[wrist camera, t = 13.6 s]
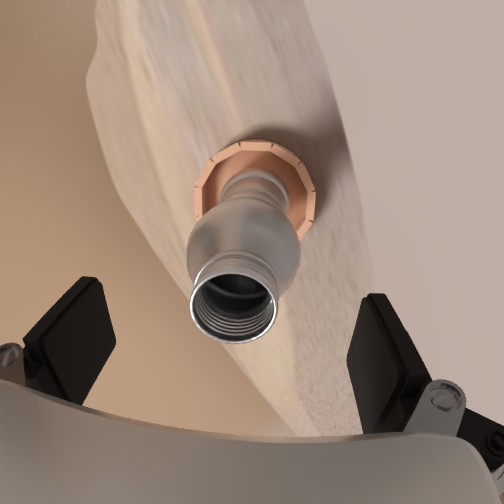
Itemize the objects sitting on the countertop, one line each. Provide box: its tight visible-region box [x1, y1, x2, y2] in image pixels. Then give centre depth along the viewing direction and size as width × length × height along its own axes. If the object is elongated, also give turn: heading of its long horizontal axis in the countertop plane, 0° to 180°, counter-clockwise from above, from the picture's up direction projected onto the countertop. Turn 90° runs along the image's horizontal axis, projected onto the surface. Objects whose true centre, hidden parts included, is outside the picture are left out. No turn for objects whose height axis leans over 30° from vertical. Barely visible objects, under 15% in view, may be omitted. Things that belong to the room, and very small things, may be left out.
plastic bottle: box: [186, 168, 301, 344], centre depth 21 cm, size 6×7×20 cm
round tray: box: [194, 139, 316, 242], centre depth 30 cm, size 12×12×3 cm
